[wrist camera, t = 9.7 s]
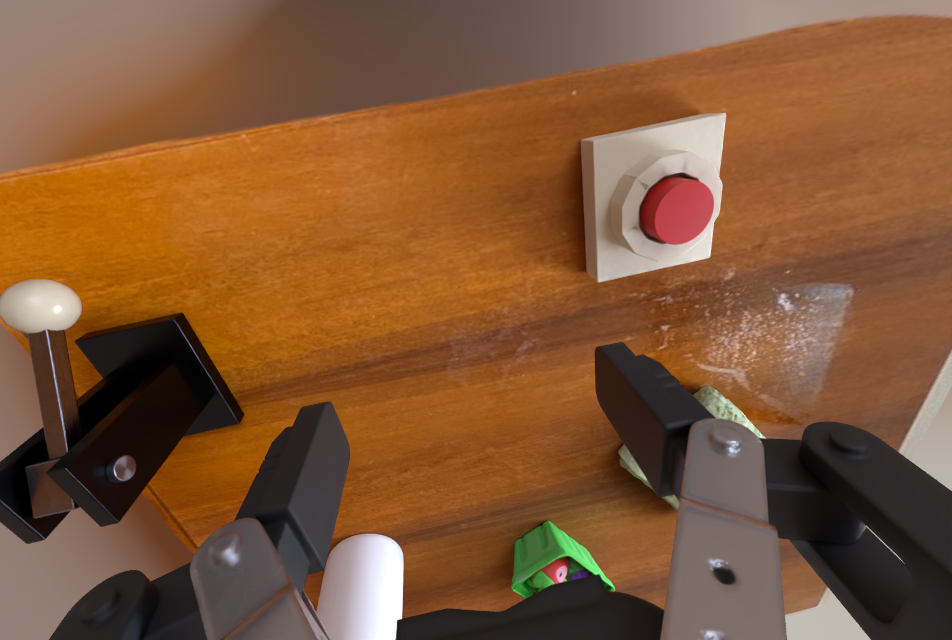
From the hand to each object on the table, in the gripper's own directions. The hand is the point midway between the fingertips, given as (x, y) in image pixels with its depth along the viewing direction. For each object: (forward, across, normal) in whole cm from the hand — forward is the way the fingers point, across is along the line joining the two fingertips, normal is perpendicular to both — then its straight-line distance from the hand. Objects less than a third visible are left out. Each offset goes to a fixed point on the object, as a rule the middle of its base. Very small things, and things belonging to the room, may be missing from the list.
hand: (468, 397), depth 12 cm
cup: (+19, +15, +36) cm, 43 cm away
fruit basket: (+20, -5, +40) cm, 45 cm away
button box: (+19, -15, 0) cm, 24 cm away
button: (+15, -15, 0) cm, 22 cm away
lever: (+13, +23, +3) cm, 27 cm away
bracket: (+19, +23, +7) cm, 30 cm away
